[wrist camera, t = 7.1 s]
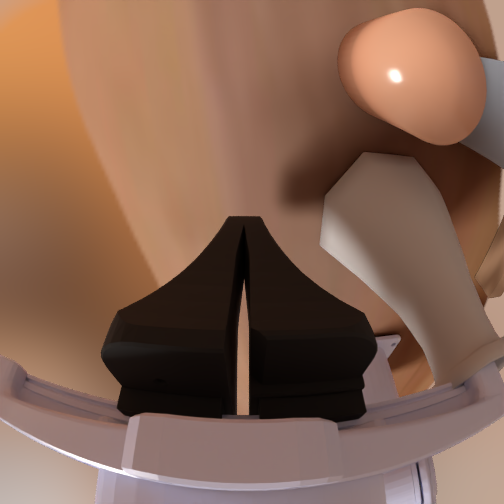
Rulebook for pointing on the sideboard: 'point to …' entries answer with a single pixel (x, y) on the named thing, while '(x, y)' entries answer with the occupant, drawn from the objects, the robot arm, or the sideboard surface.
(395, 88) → the peach egg shape
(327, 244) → the flask
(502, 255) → the walnut rail
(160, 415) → the robot arm
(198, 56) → the sideboard surface
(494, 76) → the slate block
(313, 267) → the sideboard surface
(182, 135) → the sideboard surface
